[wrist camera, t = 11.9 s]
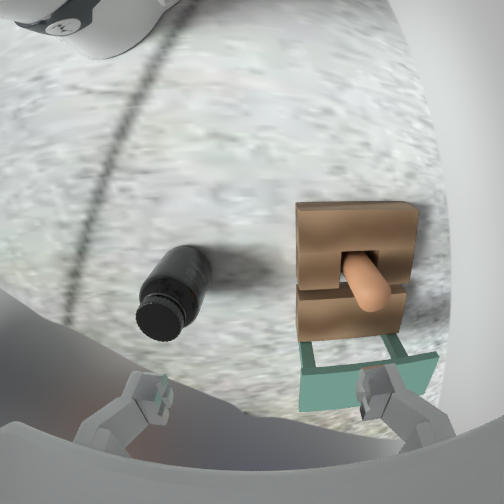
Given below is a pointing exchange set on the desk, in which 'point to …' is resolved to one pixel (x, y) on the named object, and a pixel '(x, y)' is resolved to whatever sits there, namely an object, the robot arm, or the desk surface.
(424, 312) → the desk surface
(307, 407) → the teal u-shaped bracket
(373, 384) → the robot arm
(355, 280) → the peg
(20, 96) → the desk surface
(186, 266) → the supplement bottle
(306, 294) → the socket block
